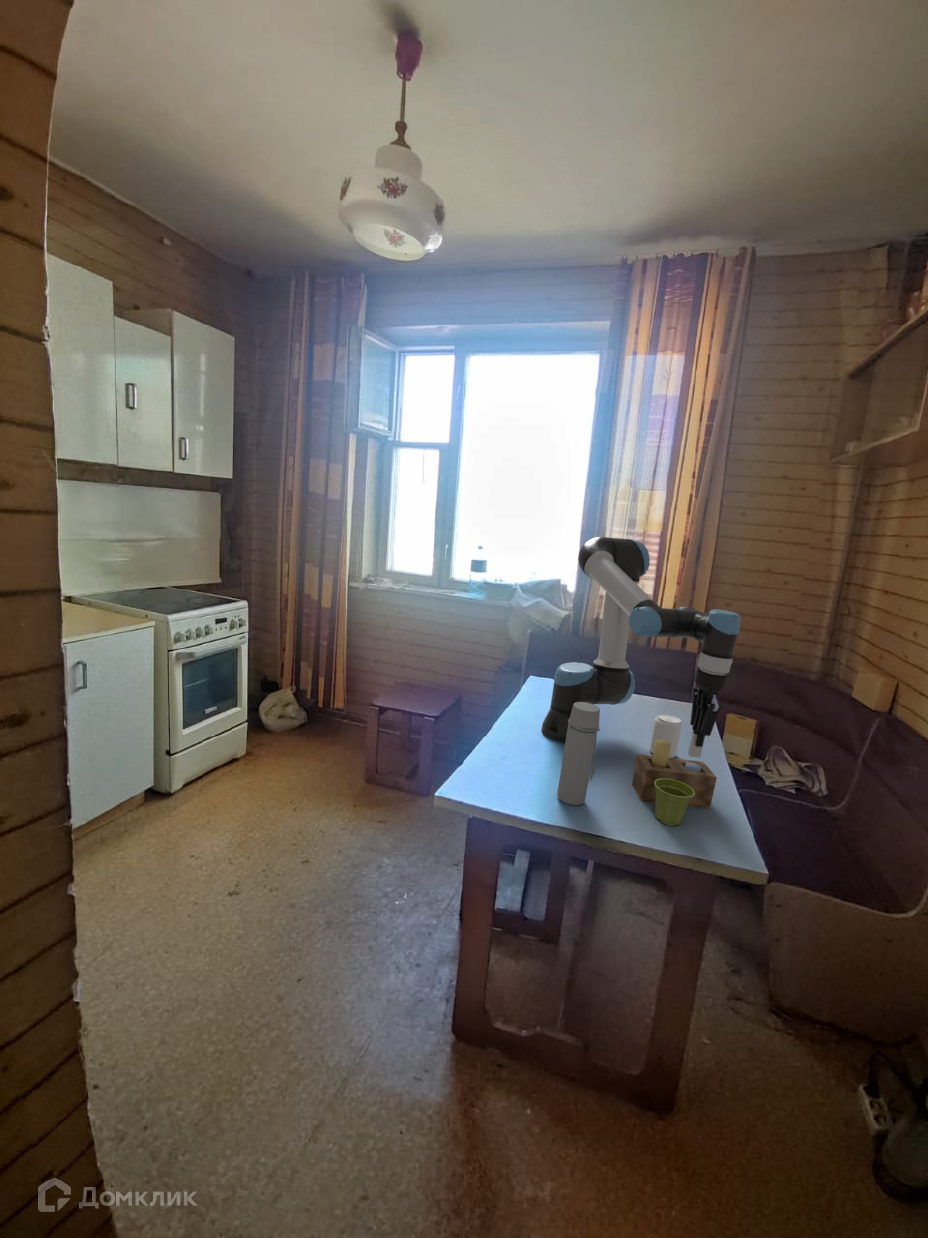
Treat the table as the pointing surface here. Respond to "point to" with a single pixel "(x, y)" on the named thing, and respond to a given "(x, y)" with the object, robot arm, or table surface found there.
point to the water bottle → (579, 753)
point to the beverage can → (666, 732)
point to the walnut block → (674, 770)
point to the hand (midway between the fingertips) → (694, 755)
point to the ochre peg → (660, 753)
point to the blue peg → (692, 767)
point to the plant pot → (671, 800)
